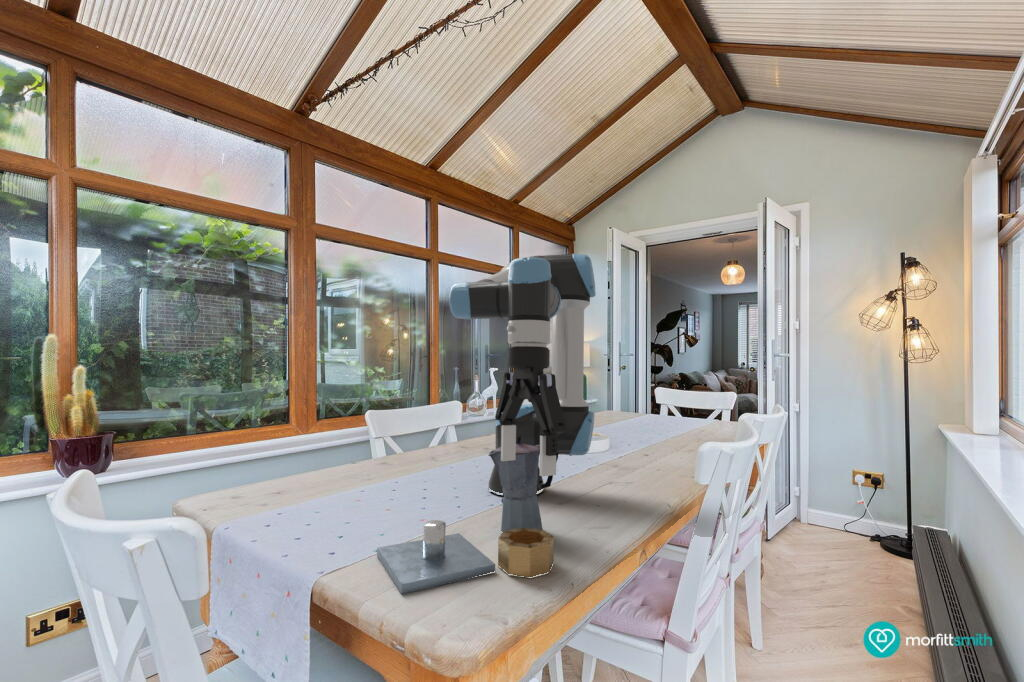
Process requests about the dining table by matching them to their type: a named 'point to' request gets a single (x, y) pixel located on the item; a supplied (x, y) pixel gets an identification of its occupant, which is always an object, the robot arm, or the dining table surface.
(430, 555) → the peg base plate
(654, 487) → the dining table surface
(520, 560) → the ring
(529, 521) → the moka pot
